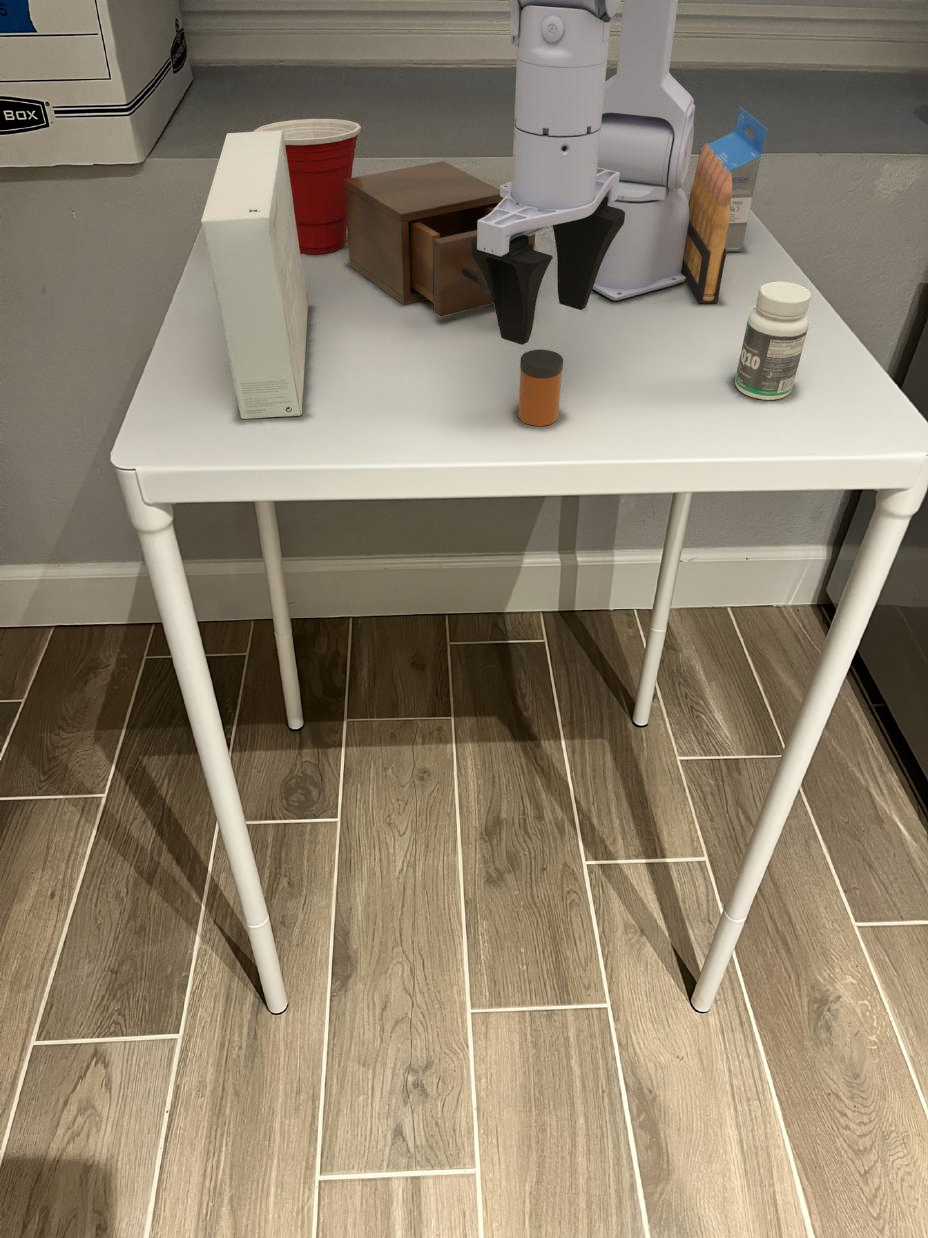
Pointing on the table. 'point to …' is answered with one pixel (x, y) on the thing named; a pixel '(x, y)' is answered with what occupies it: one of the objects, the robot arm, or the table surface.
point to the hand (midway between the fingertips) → (544, 322)
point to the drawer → (449, 260)
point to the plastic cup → (319, 178)
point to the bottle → (540, 387)
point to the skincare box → (258, 273)
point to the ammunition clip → (707, 227)
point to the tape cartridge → (740, 172)
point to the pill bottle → (773, 341)
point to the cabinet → (403, 217)
